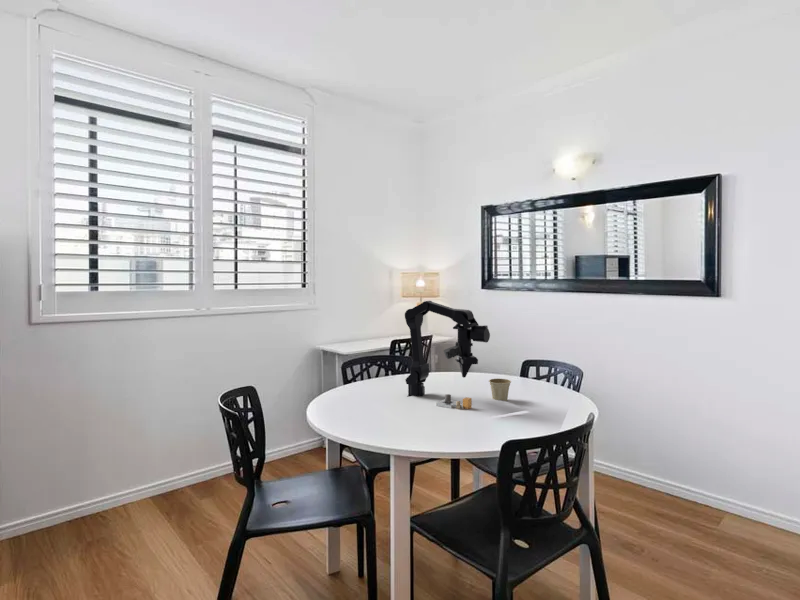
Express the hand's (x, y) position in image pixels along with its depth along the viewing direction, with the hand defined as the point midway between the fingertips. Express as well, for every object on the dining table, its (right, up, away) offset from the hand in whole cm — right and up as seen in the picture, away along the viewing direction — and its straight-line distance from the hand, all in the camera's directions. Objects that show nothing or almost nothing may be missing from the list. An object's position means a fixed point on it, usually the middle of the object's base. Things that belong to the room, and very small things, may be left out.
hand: (463, 377), depth 201 cm
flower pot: (+16, -11, +6) cm, 21 cm away
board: (-7, -12, -4) cm, 14 cm away
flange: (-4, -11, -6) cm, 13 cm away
